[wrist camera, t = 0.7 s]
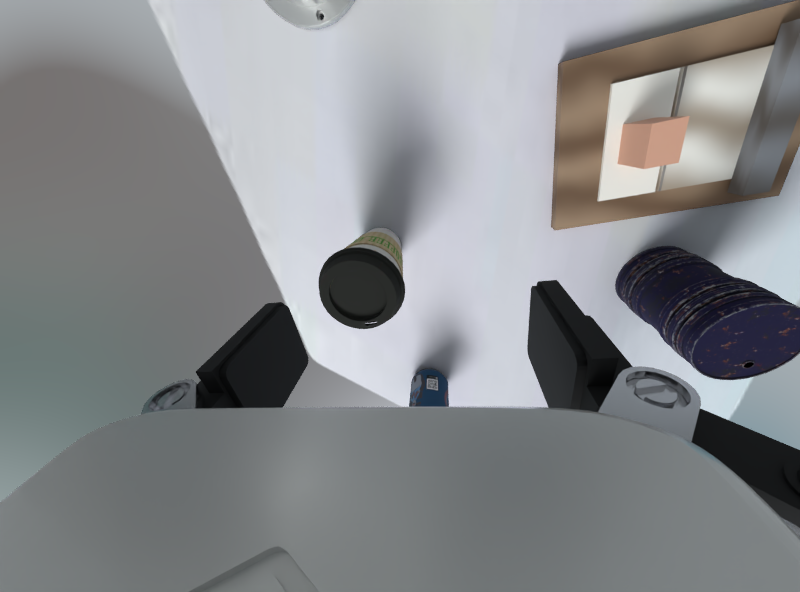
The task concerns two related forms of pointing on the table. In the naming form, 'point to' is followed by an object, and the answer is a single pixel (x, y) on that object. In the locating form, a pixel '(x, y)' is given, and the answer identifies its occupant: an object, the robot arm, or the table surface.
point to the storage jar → (710, 314)
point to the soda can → (429, 389)
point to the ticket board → (708, 123)
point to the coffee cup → (364, 280)
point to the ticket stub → (640, 135)
